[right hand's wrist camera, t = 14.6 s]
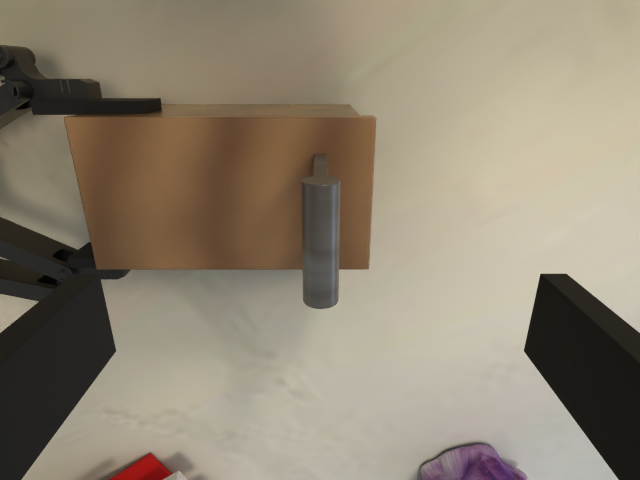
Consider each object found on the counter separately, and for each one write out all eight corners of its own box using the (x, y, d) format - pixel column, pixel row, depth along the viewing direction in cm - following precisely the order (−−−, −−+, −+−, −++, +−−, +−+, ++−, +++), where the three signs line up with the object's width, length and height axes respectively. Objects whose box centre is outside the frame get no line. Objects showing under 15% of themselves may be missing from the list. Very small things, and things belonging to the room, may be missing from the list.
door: (374, 115, 23) (402, 136, 15) (367, 263, 27) (387, 344, 19) (72, 115, 23) (-56, 137, 15) (103, 263, 27) (11, 344, 19)
